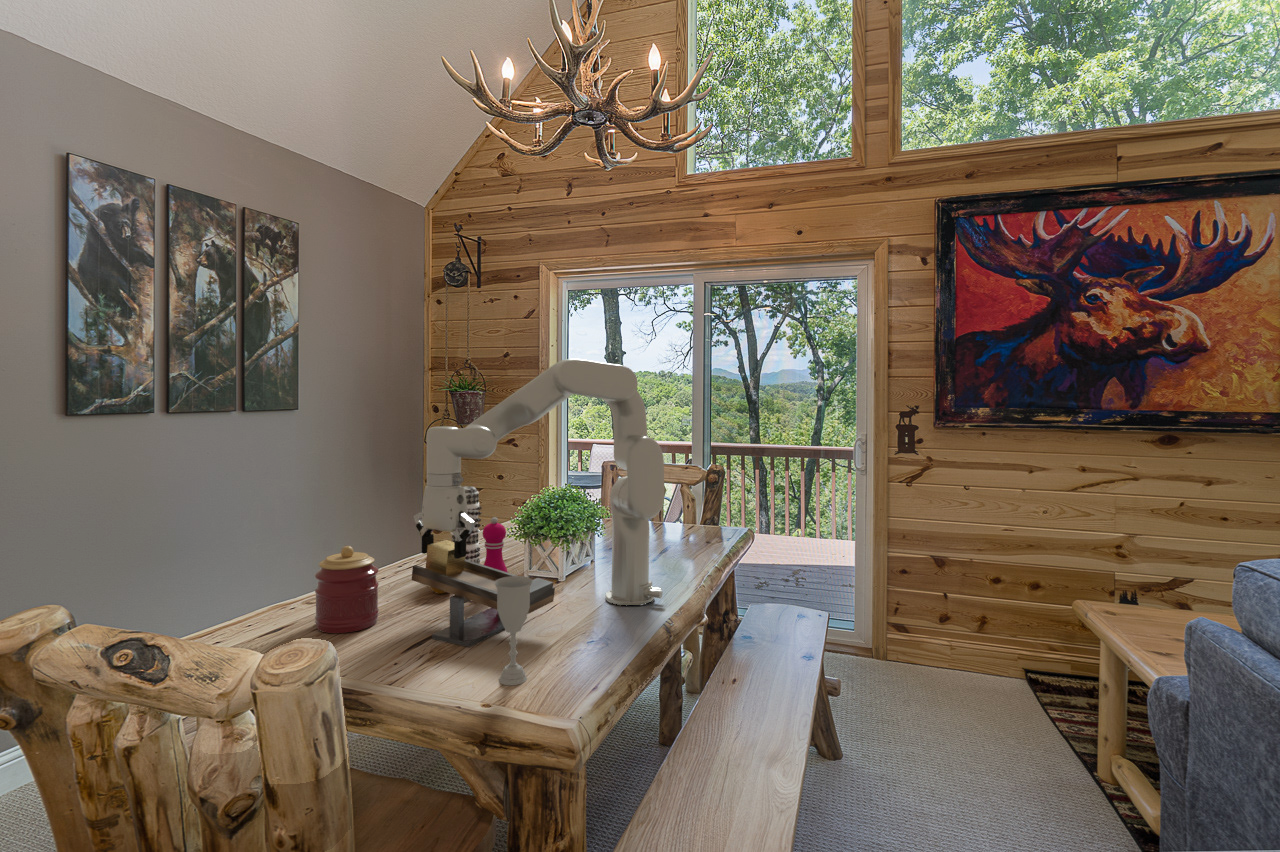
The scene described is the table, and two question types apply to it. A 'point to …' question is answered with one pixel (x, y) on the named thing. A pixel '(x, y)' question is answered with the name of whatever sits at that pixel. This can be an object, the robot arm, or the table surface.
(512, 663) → the chalice
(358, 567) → the canister
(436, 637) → the stand
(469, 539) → the decorative candle
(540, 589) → the beam
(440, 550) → the block
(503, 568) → the pepper mill
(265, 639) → the table surface
